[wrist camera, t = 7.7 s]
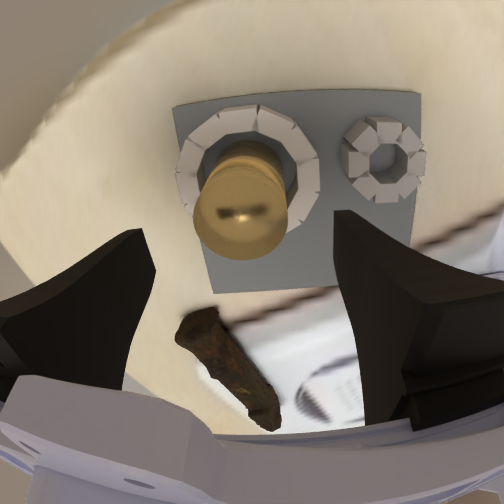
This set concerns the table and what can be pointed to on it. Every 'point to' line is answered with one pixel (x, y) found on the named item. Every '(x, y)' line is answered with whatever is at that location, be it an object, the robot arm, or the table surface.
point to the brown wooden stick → (229, 366)
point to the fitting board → (309, 172)
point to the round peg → (243, 203)
